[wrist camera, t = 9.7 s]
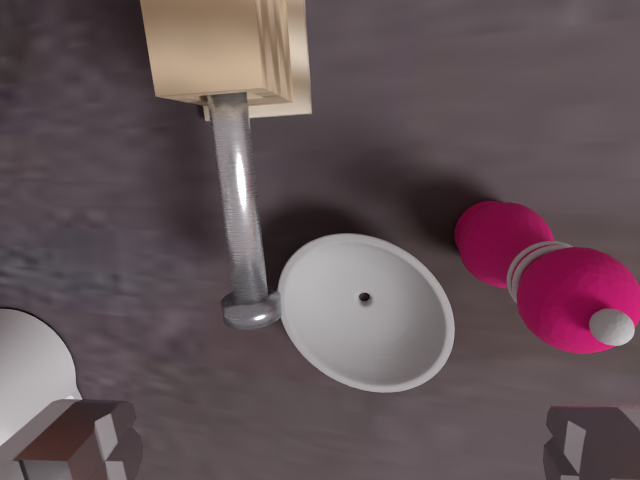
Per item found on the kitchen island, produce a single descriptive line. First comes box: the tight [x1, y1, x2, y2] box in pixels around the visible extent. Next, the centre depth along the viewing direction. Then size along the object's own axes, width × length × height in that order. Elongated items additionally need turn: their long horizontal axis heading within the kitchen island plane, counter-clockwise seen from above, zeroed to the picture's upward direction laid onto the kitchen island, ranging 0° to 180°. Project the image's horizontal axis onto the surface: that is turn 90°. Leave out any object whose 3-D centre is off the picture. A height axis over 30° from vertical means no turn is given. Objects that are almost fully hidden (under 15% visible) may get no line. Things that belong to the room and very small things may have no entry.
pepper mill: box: [454, 201, 640, 354], centre depth 28 cm, size 7×7×20 cm
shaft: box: [207, 92, 282, 330], centre depth 29 cm, size 25×5×5 cm, turn 4°
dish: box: [278, 233, 454, 392], centre depth 38 cm, size 18×14×5 cm
